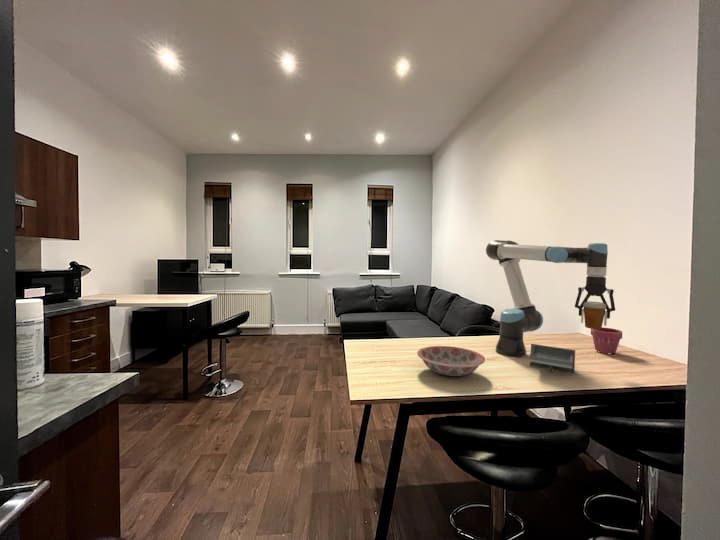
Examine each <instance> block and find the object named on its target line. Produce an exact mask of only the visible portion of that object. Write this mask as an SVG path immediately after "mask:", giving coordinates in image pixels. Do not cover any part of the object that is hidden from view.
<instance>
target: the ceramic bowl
mask: <svg viewBox="0 0 720 540" xmlns="http://www.w3.org/2000/svg"><path fill="white" fill-rule="evenodd" d="M416 354H417V357H418V358H420V359H421V360H422V362H423V363H424V364H425V366H426V367H427V368H428V369H430V370H431V371H432V372H435V373H436V374H440V375H443V376H450V377H461V376H467V375H469V374H471V373H474V372H475V371H476V370H477V369H478V368H479V366H481V365H482V364H484V363H485V362H486V358H485V356H484V355H483V354H481V353H479V352H477V351H475V350H471V349H467V348H462V347H458V346H450V345H433V346H426V347H422V348H420V349H418V350H417V352H416Z"/></svg>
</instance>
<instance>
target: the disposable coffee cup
mask: <svg viewBox="0 0 720 540" xmlns="http://www.w3.org/2000/svg"><path fill="white" fill-rule="evenodd" d="M583 309H584V317H583V320H584V327H585V328H587V329H590V330H591V329H601V328H602V327H603V325H604V314H605V311H606V304H603V302H600V301H588V300H587V302H584V305H583Z"/></svg>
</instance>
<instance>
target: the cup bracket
mask: <svg viewBox="0 0 720 540" xmlns="http://www.w3.org/2000/svg"><path fill="white" fill-rule="evenodd" d="M575 361H576V349H569V348H563V347H558V346H557V347H556V346H550V345H543V344H542V345H541V344H536V343H531V344H530V355H529V366H530V367H534V366H535V368H541V369H547V370H549V371H548V372H549V373H552V374H553V372H554V371H557V370H558V371H557V372H564V373H568V372H569V374H575V366H576V365H575V364H576V362H575Z"/></svg>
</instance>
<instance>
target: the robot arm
mask: <svg viewBox="0 0 720 540" xmlns="http://www.w3.org/2000/svg"><path fill="white" fill-rule="evenodd" d="M485 253H486V255H487V257H488V258H490V259H491V260H493V261H498V264H499V266H500V267H502V268H503V271H504V274H505V277H506V281H507V285H508V287H509V291H510V295H511V298H512V302H513V304H514V307H513V308H506V309H502V310H501V312H500V317H499V319H500V320H499V337H498V338H499V339H498V340H497V343H496V345H495V352H496V353H498V354H500V355H501V356H502V355H504V356H508V357H514V358H515V357H517V358H519V357H520V358H521V357H525V356H527V348H526V346H525V342H524V333H528V332H531V333H532V332H535V331H538V330H540V328H541V327H542V326H543V323H544V317H543V314H542V313H541V312H540V311H538V310H537V308H536V306H535V304H534V303H532V302H531V299H530V295H529V293H528V290H527V286H526V283H525V280H524V276H523V273H522V271H521V266H520V262H521V260H528V261H535V262H536V261H537V262H547V263H548V262H550V263H555V264H560V263H562V264H563V263H565V264H586V279H585V286H583V287H581V286H579V287H578V288H577V289H578V290H577V291H578V293H577V296H576V299H575V304H574V307H575V308H576V309H578V316H579V317H581V319H580V321H581V322H580V324H583V323H584V307H583V305H584V302H587V301H588V300H589V298H590V297H591V296H592V297H600V299H601V301H602V303H603V304H606V309H605V314H604V319H603V326H604V327H606V326H607V325H608V324H607V322H608V319H610V317H611V312H614V311H616V307H615V306H616V305H615V300H614V291H615V290H614V289H613V288H607V287H606V284H607V278H606V276H607V269H608V268H607V267H608V266H607V265H608V263H607V262H608V255H609V254H608V244H606V243H599V242H598V243H597V242H596V243H595V242H593V243H588V245H587V247H564V246H547V245H533V244H532V245H529V244H519V243H518V242H516V241H513V240H500V239H499V240H497V239H495V240H492V241H490V242H489V243H488V244H487V245H486V248H485ZM584 291H586V293H587V294H586V295H585V297H584V299H583V300H582V301H581V303H580V300H581V297H582V294H583V292H584ZM605 292H607V294H608V297H609V302H610V307H609V305H608V302H607V301H606V299H605V296H604V293H605ZM579 304H580V305H579Z"/></svg>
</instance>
